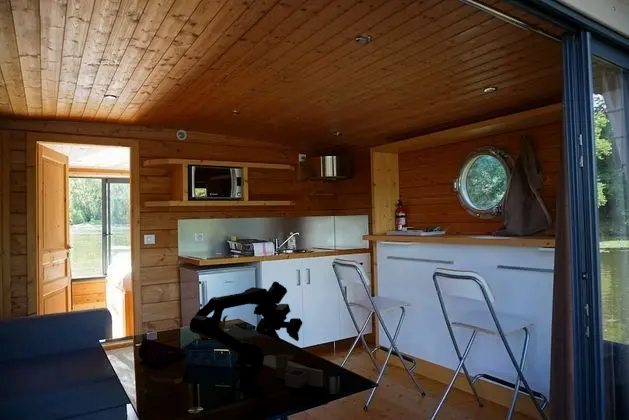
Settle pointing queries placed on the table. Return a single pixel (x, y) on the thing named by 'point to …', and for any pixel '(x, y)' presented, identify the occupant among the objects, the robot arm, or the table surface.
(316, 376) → the board
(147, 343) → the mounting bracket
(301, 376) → the square open holder
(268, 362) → the baseboard molding
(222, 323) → the teapot
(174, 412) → the table surface
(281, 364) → the rail post
